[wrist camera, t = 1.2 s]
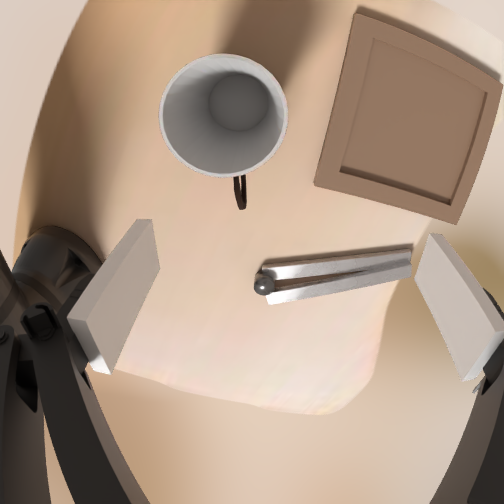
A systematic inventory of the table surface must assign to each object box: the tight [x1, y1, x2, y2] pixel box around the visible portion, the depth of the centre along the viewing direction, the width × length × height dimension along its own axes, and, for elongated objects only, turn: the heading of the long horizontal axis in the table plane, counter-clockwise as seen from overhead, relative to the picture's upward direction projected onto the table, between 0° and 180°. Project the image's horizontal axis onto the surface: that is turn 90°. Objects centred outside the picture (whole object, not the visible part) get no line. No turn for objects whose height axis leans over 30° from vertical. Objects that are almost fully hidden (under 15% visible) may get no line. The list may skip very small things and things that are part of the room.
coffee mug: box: [159, 53, 288, 210], centre depth 24 cm, size 12×9×10 cm
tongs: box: [254, 249, 412, 305], centre depth 36 cm, size 19×5×2 cm, turn 100°
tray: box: [314, 13, 503, 225], centre depth 26 cm, size 18×18×1 cm
